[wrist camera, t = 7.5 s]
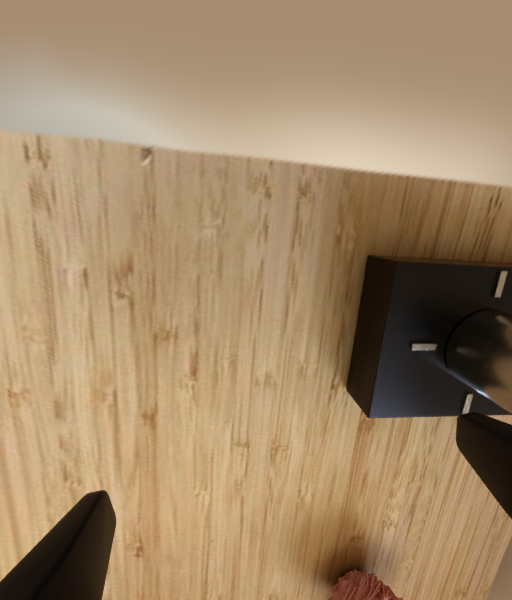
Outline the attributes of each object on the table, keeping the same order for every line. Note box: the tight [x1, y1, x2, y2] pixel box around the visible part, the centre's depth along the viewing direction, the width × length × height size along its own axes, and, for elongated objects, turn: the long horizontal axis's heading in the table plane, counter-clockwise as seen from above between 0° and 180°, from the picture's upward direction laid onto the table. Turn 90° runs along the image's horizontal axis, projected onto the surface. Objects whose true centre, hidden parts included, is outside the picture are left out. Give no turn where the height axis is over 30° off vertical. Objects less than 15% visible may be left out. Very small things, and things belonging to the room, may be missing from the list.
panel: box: [347, 255, 512, 418], centre depth 18 cm, size 12×9×3 cm
